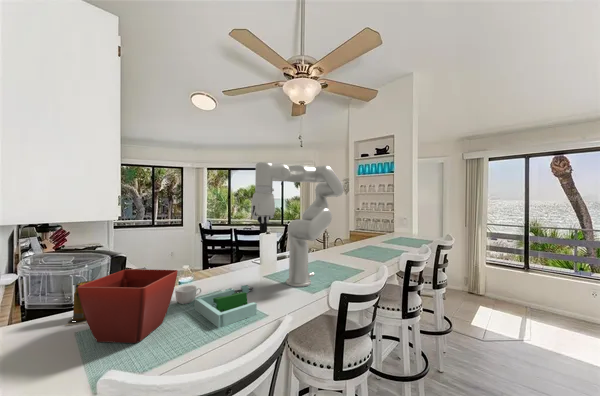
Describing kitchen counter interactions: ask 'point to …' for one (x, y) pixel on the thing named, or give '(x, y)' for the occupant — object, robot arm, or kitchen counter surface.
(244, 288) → the clip
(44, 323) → the kitchen counter surface
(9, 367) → the kitchen counter surface
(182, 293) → the teacup
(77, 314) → the condiment
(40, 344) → the kitchen counter surface
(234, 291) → the clip
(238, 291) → the cable
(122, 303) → the plant pot
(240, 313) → the end holder
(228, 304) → the clamp
